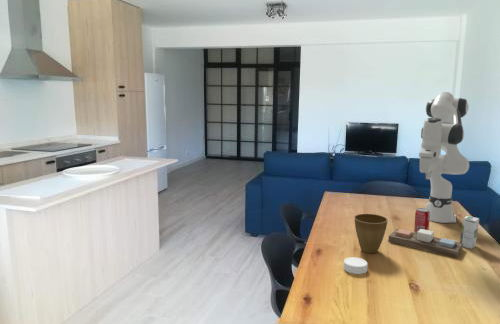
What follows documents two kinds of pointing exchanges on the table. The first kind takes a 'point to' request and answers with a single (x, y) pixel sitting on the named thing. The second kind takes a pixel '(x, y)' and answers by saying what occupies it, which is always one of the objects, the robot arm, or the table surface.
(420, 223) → the soda can
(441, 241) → the blue-grey key
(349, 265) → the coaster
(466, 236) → the syrup box
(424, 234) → the white key
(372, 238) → the plant pot
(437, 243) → the key panel
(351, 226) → the table surface
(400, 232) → the terracotta key
